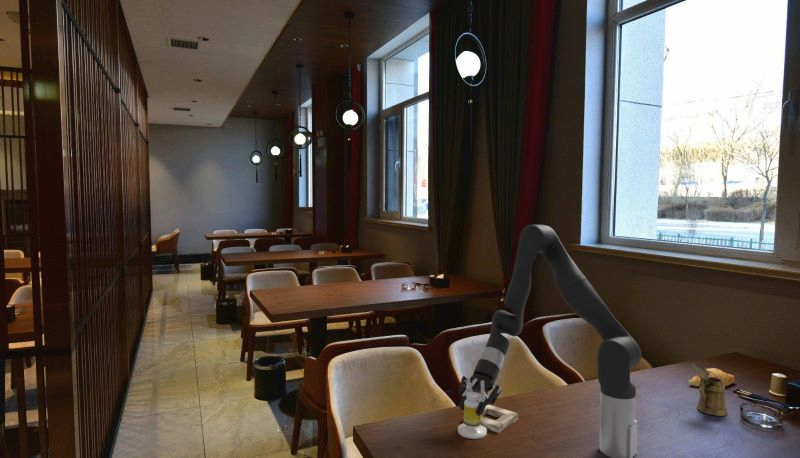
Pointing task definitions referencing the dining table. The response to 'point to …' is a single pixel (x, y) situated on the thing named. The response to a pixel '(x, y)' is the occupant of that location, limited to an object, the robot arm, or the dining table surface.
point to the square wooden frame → (501, 422)
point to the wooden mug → (710, 393)
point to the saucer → (472, 432)
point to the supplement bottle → (471, 410)
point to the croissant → (716, 373)
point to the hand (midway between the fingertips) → (469, 411)
